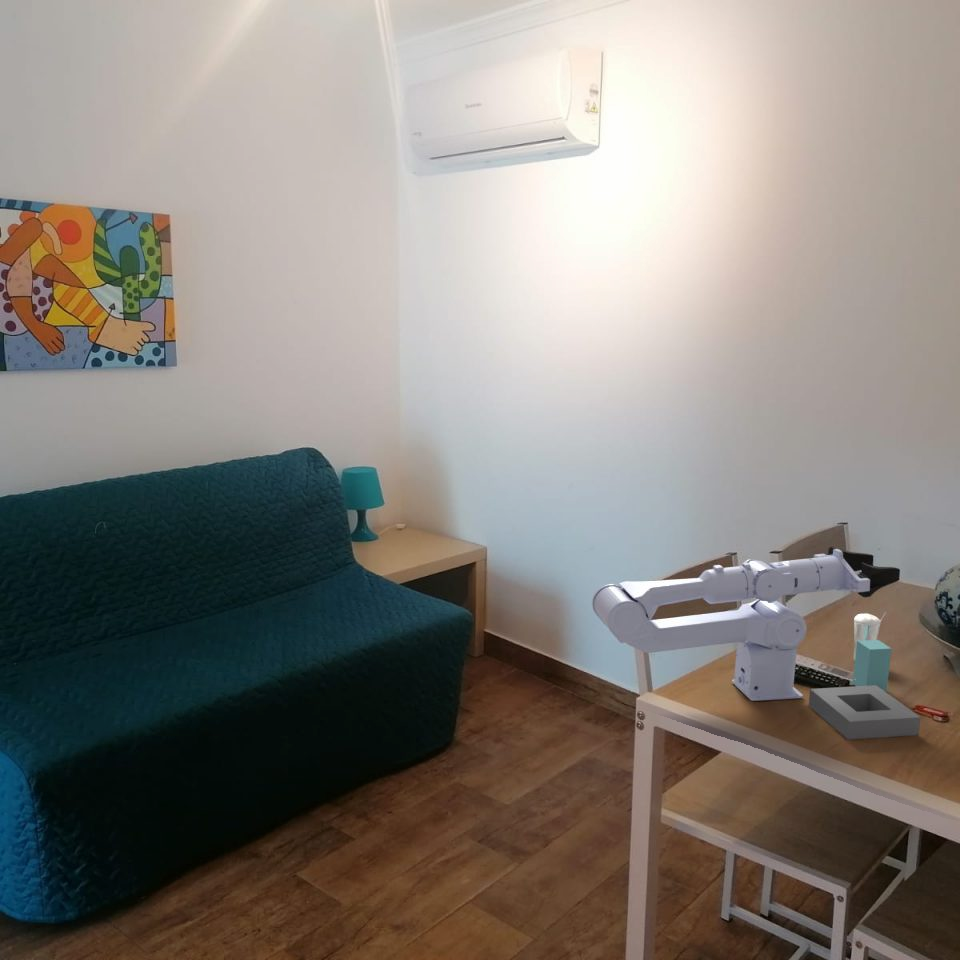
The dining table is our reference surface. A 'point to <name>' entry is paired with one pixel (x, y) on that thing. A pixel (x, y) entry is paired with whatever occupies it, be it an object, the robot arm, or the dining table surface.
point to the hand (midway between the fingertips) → (885, 567)
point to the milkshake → (865, 628)
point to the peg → (872, 664)
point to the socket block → (874, 722)
